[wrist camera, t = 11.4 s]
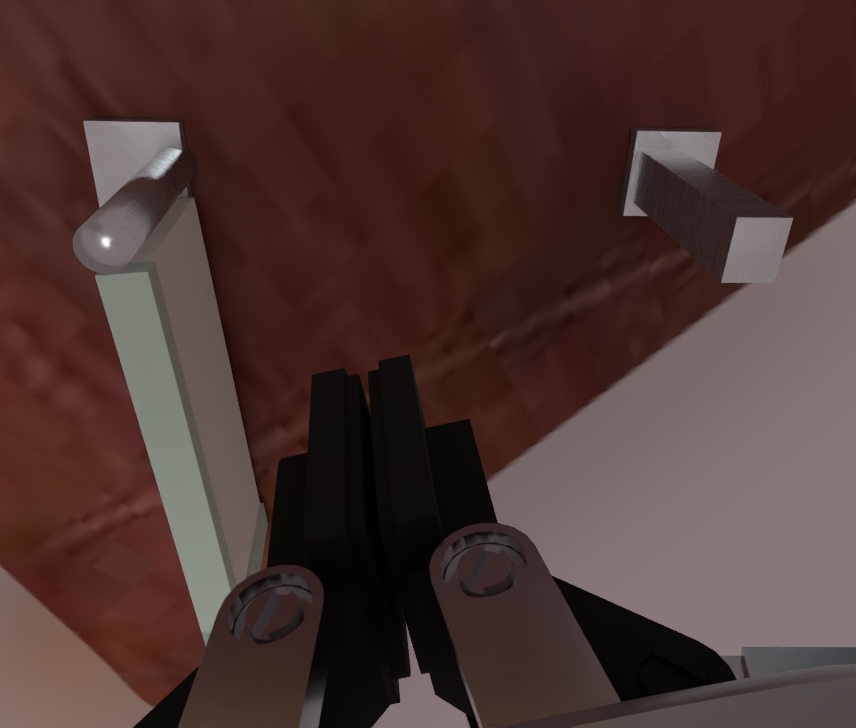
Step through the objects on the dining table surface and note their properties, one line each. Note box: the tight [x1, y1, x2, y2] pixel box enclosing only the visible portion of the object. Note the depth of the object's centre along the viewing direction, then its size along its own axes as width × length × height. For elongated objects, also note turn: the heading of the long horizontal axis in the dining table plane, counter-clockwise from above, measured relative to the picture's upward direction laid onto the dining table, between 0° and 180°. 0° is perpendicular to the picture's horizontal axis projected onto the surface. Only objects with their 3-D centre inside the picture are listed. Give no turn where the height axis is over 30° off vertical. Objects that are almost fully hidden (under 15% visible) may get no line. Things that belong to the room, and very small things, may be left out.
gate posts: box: [73, 117, 793, 283], centre depth 29 cm, size 28×4×11 cm, turn 88°
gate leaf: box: [95, 197, 268, 645], centre depth 34 cm, size 20×2×9 cm, turn 3°
